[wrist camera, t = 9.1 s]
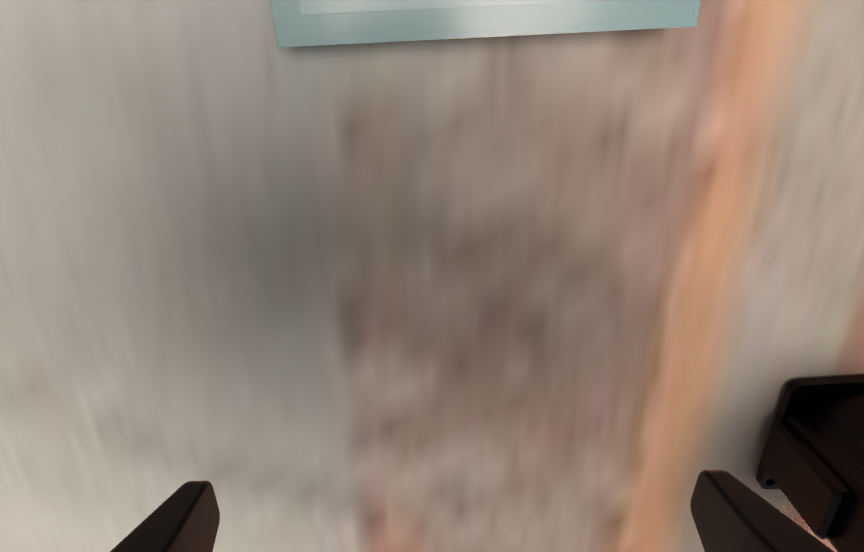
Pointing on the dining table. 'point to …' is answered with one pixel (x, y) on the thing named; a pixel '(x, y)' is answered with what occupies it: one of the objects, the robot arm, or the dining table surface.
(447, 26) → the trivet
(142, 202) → the dining table surface
